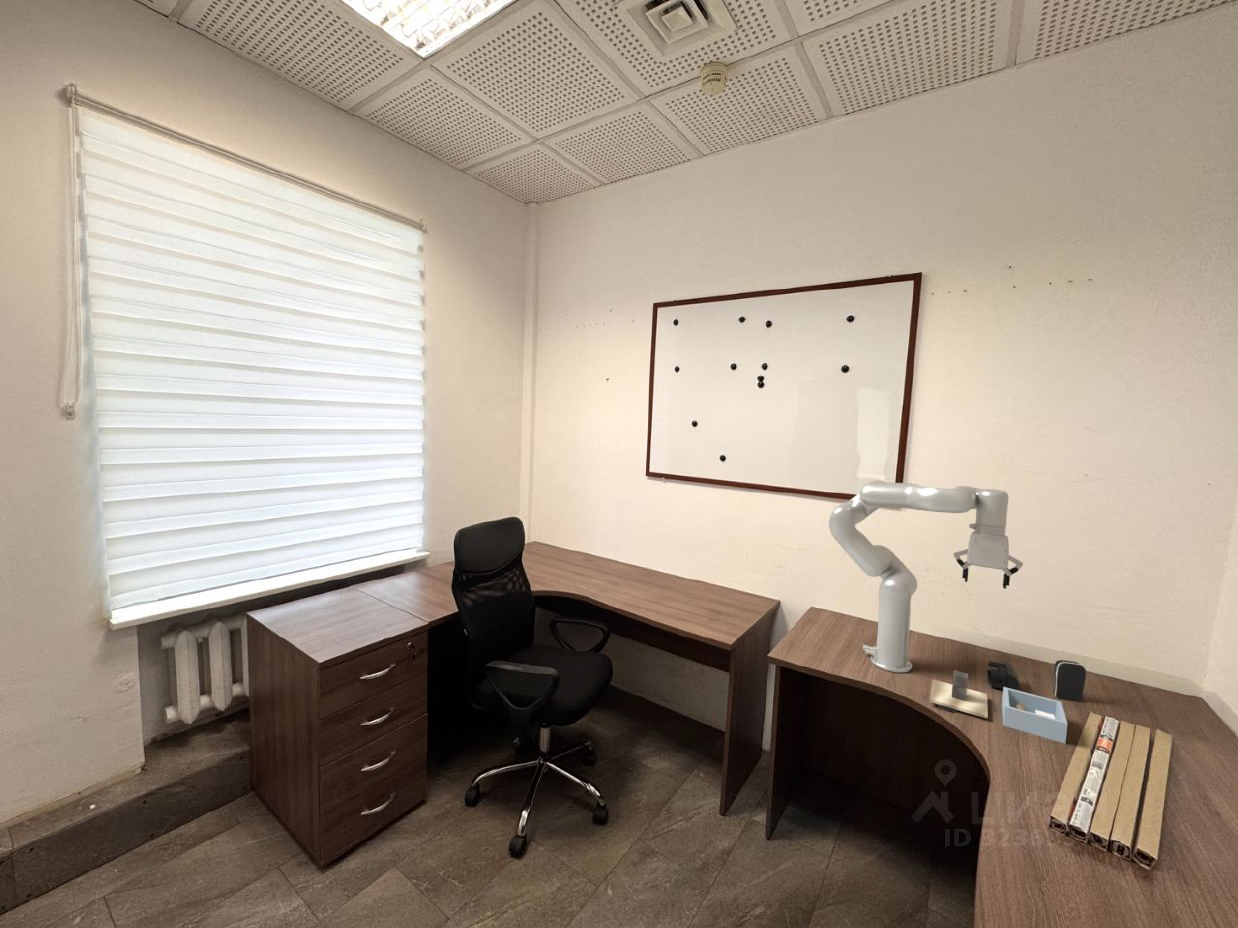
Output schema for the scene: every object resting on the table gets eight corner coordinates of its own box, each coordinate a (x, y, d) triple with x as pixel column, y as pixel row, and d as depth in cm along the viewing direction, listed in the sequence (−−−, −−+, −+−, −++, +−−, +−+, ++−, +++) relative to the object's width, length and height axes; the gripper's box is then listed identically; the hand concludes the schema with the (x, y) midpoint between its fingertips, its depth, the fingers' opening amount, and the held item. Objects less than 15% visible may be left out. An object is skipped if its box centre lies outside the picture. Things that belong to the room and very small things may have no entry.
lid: (929, 704, 150) (931, 676, 149) (932, 684, 161) (934, 658, 160) (987, 721, 142) (990, 692, 141) (986, 699, 153) (989, 671, 152)
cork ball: (1013, 716, 144) (1014, 705, 144) (1012, 711, 147) (1013, 700, 147) (1027, 720, 142) (1028, 709, 142) (1026, 715, 145) (1027, 704, 145)
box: (1003, 727, 140) (1005, 706, 140) (1001, 705, 151) (1003, 686, 150) (1065, 745, 133) (1067, 724, 132) (1058, 721, 143) (1061, 701, 143)
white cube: (1035, 730, 138) (1036, 716, 138) (1033, 723, 141) (1035, 709, 141) (1054, 735, 136) (1055, 721, 135) (1052, 728, 139) (1054, 714, 139)
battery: (1076, 695, 157) (1080, 660, 156) (1083, 702, 153) (1087, 666, 152) (1049, 691, 159) (1053, 657, 158) (1055, 698, 155) (1059, 662, 154)
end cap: (1018, 698, 155) (1020, 677, 155) (990, 691, 159) (992, 670, 158) (1013, 683, 164) (1015, 663, 163) (986, 677, 167) (988, 657, 167)
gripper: (955, 527, 157) (951, 581, 158) (1026, 536, 147) (1021, 593, 148) (956, 523, 163) (952, 575, 164) (1025, 531, 153) (1019, 586, 154)
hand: (984, 584), depth 156 cm, fingers open, 9 cm apart
